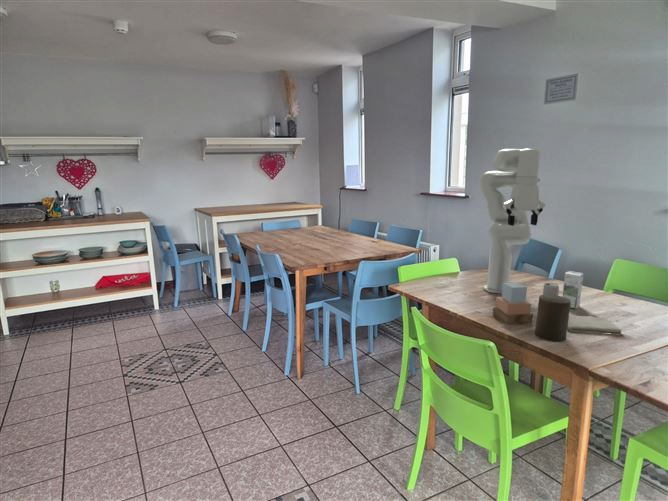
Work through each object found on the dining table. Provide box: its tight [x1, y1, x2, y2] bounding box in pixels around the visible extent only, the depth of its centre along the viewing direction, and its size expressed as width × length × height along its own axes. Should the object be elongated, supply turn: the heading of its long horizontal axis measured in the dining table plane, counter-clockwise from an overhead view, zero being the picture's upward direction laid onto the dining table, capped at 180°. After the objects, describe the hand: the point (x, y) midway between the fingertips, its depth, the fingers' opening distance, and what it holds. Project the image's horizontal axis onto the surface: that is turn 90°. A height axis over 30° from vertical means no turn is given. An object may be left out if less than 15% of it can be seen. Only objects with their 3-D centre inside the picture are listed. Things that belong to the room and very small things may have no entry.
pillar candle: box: [534, 293, 571, 343], centre depth 145 cm, size 10×10×15 cm
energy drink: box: [542, 282, 560, 296], centre depth 167 cm, size 5×5×12 cm
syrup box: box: [561, 270, 584, 310], centre depth 176 cm, size 6×6×14 cm
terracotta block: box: [494, 296, 532, 315], centre depth 161 cm, size 9×9×4 cm
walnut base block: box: [492, 306, 534, 326], centre depth 162 cm, size 10×10×4 cm
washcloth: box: [567, 315, 622, 335], centre depth 154 cm, size 12×18×3 cm, turn 81°
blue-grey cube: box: [501, 281, 528, 303], centre depth 160 cm, size 6×6×6 cm
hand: (522, 225), depth 169 cm, fingers open, 9 cm apart
